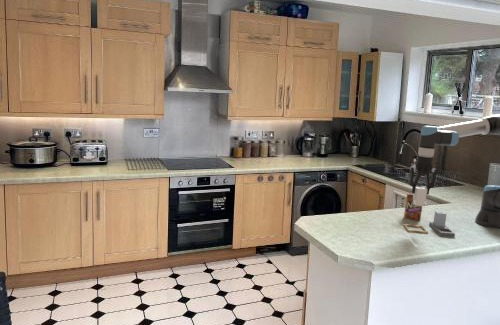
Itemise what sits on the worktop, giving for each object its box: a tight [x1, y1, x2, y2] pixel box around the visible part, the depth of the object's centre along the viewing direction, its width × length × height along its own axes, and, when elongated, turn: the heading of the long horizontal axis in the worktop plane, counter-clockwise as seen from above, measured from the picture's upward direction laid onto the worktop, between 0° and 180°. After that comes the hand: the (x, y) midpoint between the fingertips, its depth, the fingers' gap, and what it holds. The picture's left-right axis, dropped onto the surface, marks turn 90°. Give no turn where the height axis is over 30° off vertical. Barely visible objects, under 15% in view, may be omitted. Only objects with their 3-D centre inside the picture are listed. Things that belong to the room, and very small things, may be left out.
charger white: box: [413, 186, 427, 207], centre depth 217 cm, size 4×4×9 cm
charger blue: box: [432, 210, 447, 227], centre depth 225 cm, size 4×4×9 cm
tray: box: [402, 223, 429, 235], centre depth 221 cm, size 10×10×2 cm
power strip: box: [428, 221, 456, 238], centre depth 225 cm, size 25×7×4 cm, turn 174°
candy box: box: [403, 192, 423, 222], centre depth 240 cm, size 9×4×15 cm, turn 60°
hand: (419, 199), depth 218 cm, fingers closed on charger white, 4 cm apart
